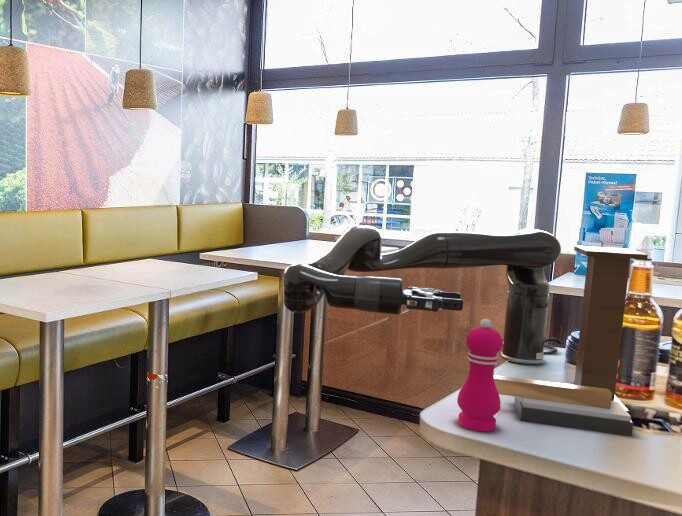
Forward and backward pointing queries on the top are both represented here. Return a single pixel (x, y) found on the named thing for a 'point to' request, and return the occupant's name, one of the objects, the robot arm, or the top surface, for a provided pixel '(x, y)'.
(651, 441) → the top surface
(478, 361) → the pepper mill
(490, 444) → the top surface
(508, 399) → the top surface
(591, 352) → the stand
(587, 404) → the beech stick
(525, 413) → the scale
